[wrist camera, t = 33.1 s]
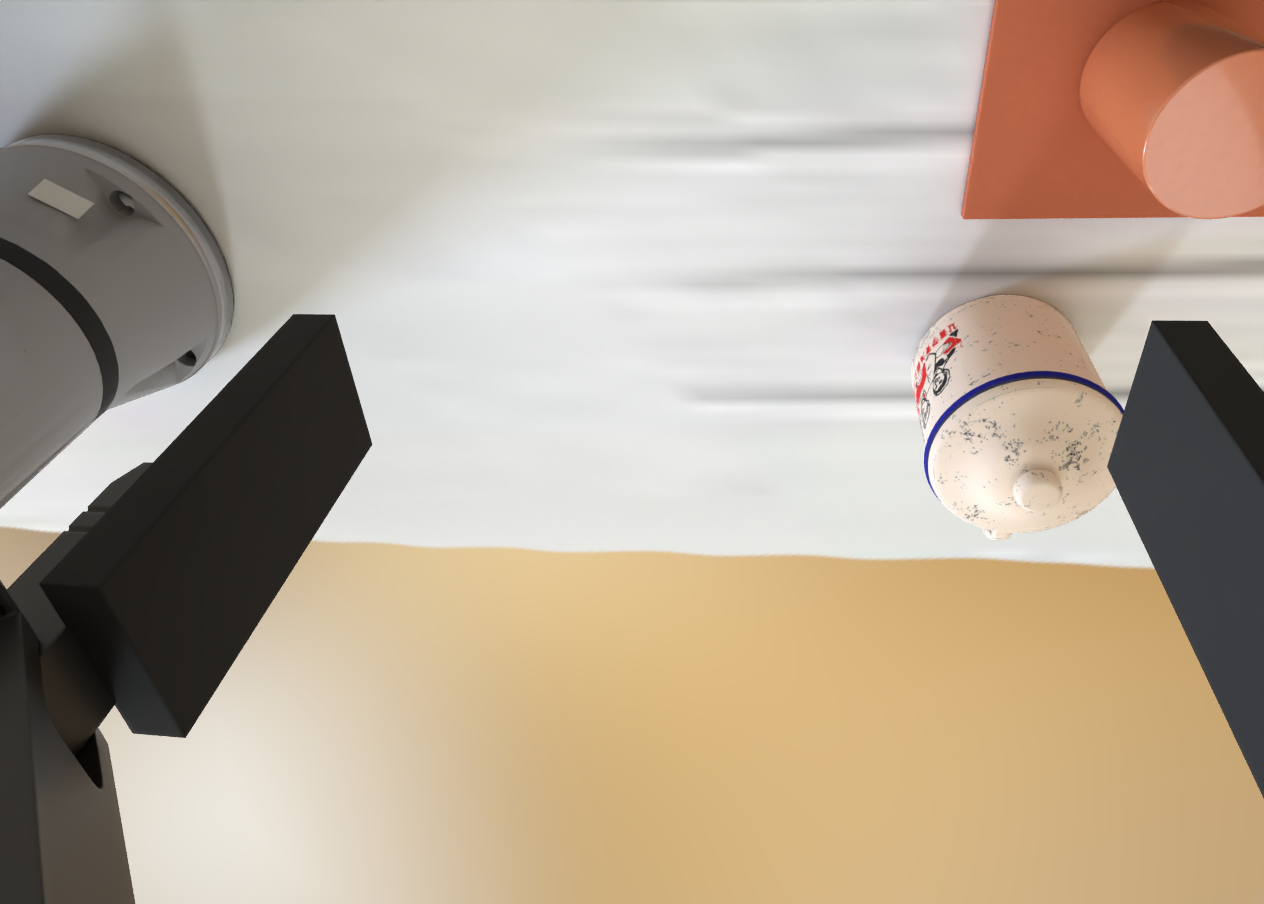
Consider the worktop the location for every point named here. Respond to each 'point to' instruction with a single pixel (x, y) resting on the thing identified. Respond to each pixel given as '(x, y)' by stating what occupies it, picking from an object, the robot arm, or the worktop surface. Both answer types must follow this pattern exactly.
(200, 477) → the robot arm
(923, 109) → the worktop surface
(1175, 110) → the copper-orange cylinder
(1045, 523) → the teacup with lid
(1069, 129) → the terracotta mat
